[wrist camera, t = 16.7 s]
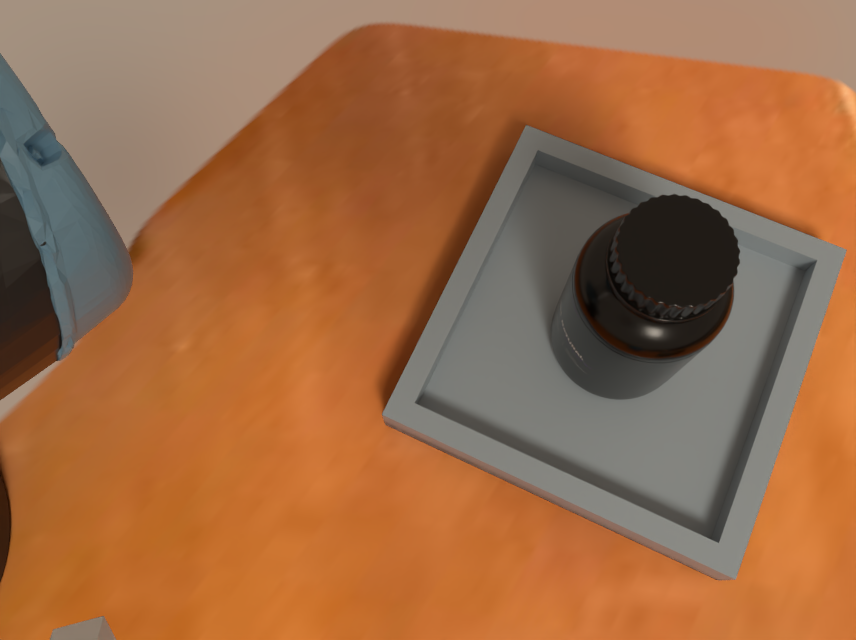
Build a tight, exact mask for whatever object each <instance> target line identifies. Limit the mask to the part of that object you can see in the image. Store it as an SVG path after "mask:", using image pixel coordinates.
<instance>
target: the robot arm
mask: <svg viewBox="0 0 856 640" xmlns="http://www.w3.org/2000/svg"><path fill="white" fill-rule="evenodd" d="M132 280H133V267H132V262H131V258H130V255H129V253H128V251H127V248H126V246H125V244H124V242H123V240H122V238H121V237H120V235H119V233H118V231H117V229H116V228H115V226H114V224H113V222H112V221H111V219H110V217H109V215H108V214H107V212H106V210H105V209H104V207H103V206H102V204H101V202H100V201H99V199H98V198H97V196H96V194H95V193H94V191H93V189H92V188H91V186H90V185H89V183H88V182H87V180H86V179H85V177H84V175H83V174H82V172H81V171H80V169H79V168H78V167H77V165H76V164H75V162H74V161H73V159H72V157H71V156H70V155H69V153H68V152H67V151H66V150H65V148H64V147H63V146H62V145H61V144H60V143H59V142H58V141H57V140H56V137H55V133H54V131H53V130H52V129H51V127H50V126H49V124H48V123H47V122H46V120H45V119H44V117H43V116H42V114H41V112H40V110H39V108H38V107H37V105H36V103H35V102H34V101H33V99H32V98H31V96H30V94H29V93H28V92H27V90H26V89H25V87H24V86H23V84H22V83H21V81H20V80H19V79H18V77H17V76H16V74H15V73H14V72H13V70H12V69H11V67H10V66H9V65H8V63H7V62H6V60H5V59H4V58H3V56H2V55H1V54H0V400H1V399H3V398H4V397H6V396H7V395H8V394H10V393H11V392H13V391H14V390H15V389H17V388H18V387H20V386H21V385H23V384H24V383H25V382H27V381H28V380H30V379H31V378H33V377H34V376H35V375H37V374H38V373H40V372H41V371H43V370H44V369H45V368H47V367H48V366H50V365H51V364H52V363H54V362H55V361H60V360H62V359H63V358H65V357H66V356H68V355H69V354H70V352H71V351H72V349H73V347H74V344H75V343H76V342H77V341H78V340H79V339H81V338H82V337H83V336H84V335H85V334H87V333H88V332H89V331H90V330H92V329H93V328H94V327H95V326H97V325H98V324H99V323H100V322H101V321H103V320H104V319H105V318H106V317H108V316H109V315H110V314H111V313H112V312H114V311H115V310H116V309H117V308H118V307H119V306H120V305H121V304H122V303H123V302H124V301H125V299H126V298H127V296H128V294H129V292H130V289H131V286H132ZM9 534H10V516H9V506H8V501H7V495H6V491H5V487H4V484H3V481H2V478H1V475H0V581H1V578H2V575H3V571H4V567H5V563H6V558H7V553H8V545H9ZM50 640H116V638H115V637H114V635H113V633H112V631H111V629H110V627H109V625H108V623H107V621H106V619H105V618H104V616H102V617H98V618H94V619H90V620H87V621H83V622H79V623H76V624H72V625H68V626H65V627H61V628H57V629H54V630H53V632H52V635H51V638H50Z"/></svg>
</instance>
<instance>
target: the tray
mask: <svg viewBox="0 0 856 640" xmlns="http://www.w3.org/2000/svg"><path fill="white" fill-rule="evenodd" d="M672 194H677V195H679V196H683V195H687V196H689V197H690V198H697V199H699V200H700V201H702V202H703V203H708V204H709V205H710V206H711V207H712V208H713V209H716V210H718V211H719V212H720V213H721V215H722V216H723V217H724V218H726V219H727V220H728V223H729V225H730V226H731V227H732V228H733V229H734V235H735V236H736V238H737V239H738V248H739V249H740V254H739V259H740V264H739V266H738V267H737V270H738V274H737V275H736V277H735V278H734V301H733V306H732V310H731V313H730V316H729V318H728V321H727V322H726V324H725V326H724V328H723V329H722V330H721V332H720V333H719V334H718V336H717V337H716V338H715V339H714V340H713V341H712V342H711V343H710V344H709V345H708V346H707V347H706V348H704V349H703V350H702V351H701V352H700V353H699V354H698V355H696V356H695V357H694V358H693V359H692V360H691V361H690V362H688V363H687V364H686V365H685V366H684V367H683V368H682V369H680V370H679V371H678V372H677V373H676V374H675V375H674V376H672V377H671V378H670V379H669V380H668V381H667V382H665V383H664V384H663V385H662V386H660V387H659V388H657V389H656V390H654V391H652V392H651V393H648V394H646V395H644V396H641V397H638V398H633V399H626V400H615V399H608V398H603V397H599V396H597V395H594V394H592V393H589V392H587V391H586V390H584V389H582V388H581V387H579V386H578V385H577V384H575V383H574V382H573V381H572V380H571V379H570V378H569V377H568V376H567V375H566V374H565V372H564V371H563V370H562V368H561V367H560V365H559V363H558V361H557V359H556V357H555V354H554V352H553V348H552V343H551V323H552V318H553V314H554V312H555V309H556V306H557V303H558V301H559V299H560V296H561V294H562V291H563V289H564V287H565V284H566V282H567V280H568V277H569V275H570V273H571V270H572V268H573V266H574V263H575V261H576V259H577V256H578V254H579V252H580V250H581V249H582V247H583V246H584V244H585V242H586V241H587V240H588V238H589V237H590V236H591V235H592V234H593V233H594V232H595V231H596V230H597V229H598V228H599V227H600V226H602V225H603V224H605V223H606V222H608V221H609V220H611V219H613V218H615V217H618V216H620V215H623V214H626V213H629V212H630V210H631V209H633V208H636V207H637V206H638V205H639V204H640V203H641V202H645V201H648V200H649V199H650V198H651V197H659V196H661V195H668V196H669V195H672ZM845 253H846V249H843V248H841V247H838V246H836V245H833V244H831V243H828V242H826V241H823V240H820V239H818V238H815V237H813V236H810V235H808V234H805V233H802V232H800V231H797V230H795V229H792V228H790V227H787V226H784V225H782V224H779V223H777V222H774V221H772V220H769V219H766V218H764V217H761V216H759V215H756V214H754V213H751V212H749V211H746V210H743V209H741V208H738V207H736V206H733V205H731V204H728V203H725V202H723V201H720V200H718V199H715V198H713V197H710V196H707V195H705V194H702V193H700V192H697V191H695V190H692V189H689V188H687V187H684V186H682V185H679V184H677V183H674V182H672V181H669V180H666V179H664V178H661V177H659V176H656V175H654V174H651V173H648V172H646V171H643V170H641V169H638V168H636V167H633V166H630V165H628V164H625V163H623V162H620V161H618V160H615V159H612V158H610V157H607V156H605V155H602V154H600V153H597V152H595V151H592V150H589V149H587V148H584V147H582V146H579V145H577V144H574V143H571V142H569V141H566V140H564V139H561V138H559V137H556V136H553V135H551V134H548V133H546V132H543V131H541V130H538V129H535V128H533V127H530V126H528V125H526V126H525V128H524V130H523V132H522V134H521V136H520V138H519V140H518V142H517V144H516V147H515V149H514V151H513V153H512V155H511V157H510V159H509V161H508V163H507V165H506V167H505V169H504V171H503V173H502V175H501V177H500V179H499V181H498V183H497V185H496V187H495V189H494V191H493V193H492V195H491V197H490V199H489V201H488V203H487V205H486V207H485V209H484V211H483V213H482V215H481V217H480V219H479V221H478V223H477V225H476V227H475V229H474V231H473V233H472V235H471V237H470V239H469V241H468V243H467V245H466V247H465V249H464V251H463V253H462V255H461V257H460V259H459V261H458V263H457V265H456V267H455V269H454V271H453V273H452V275H451V277H450V279H449V281H448V283H447V285H446V287H445V289H444V291H443V293H442V295H441V297H440V299H439V301H438V303H437V305H436V307H435V309H434V311H433V313H432V315H431V317H430V319H429V321H428V323H427V325H426V327H425V329H424V331H423V333H422V335H421V337H420V339H419V341H418V343H417V345H416V347H415V349H414V351H413V353H412V355H411V357H410V359H409V361H408V363H407V365H406V367H405V369H404V371H403V373H402V375H401V377H400V379H399V381H398V383H397V385H396V387H395V389H394V391H393V393H392V395H391V397H390V399H389V401H388V403H387V405H386V407H385V409H384V411H383V413H382V416H383V419H384V422H385V424H386V425H387V426H389V427H392V428H394V429H396V430H398V431H400V432H402V433H404V434H406V435H409V436H411V437H413V438H415V439H417V440H419V441H421V442H424V443H426V444H428V445H430V446H432V447H434V448H436V449H438V450H441V451H443V452H445V453H447V454H449V455H451V456H453V457H456V458H458V459H460V460H462V461H464V462H466V463H468V464H471V465H473V466H475V467H477V468H479V469H481V470H483V471H485V472H488V473H490V474H492V475H494V476H496V477H498V478H500V479H503V480H505V481H507V482H509V483H511V484H513V485H515V486H518V487H520V488H522V489H524V490H526V491H528V492H530V493H532V494H535V495H537V496H539V497H541V498H543V499H545V500H547V501H550V502H552V503H554V504H556V505H558V506H560V507H562V508H565V509H567V510H569V511H571V512H573V513H575V514H577V515H579V516H582V517H584V518H586V519H588V520H590V521H592V522H594V523H597V524H599V525H601V526H603V527H605V528H607V529H609V530H611V531H614V532H616V533H618V534H620V535H622V536H624V537H626V538H629V539H631V540H633V541H635V542H637V543H639V544H641V545H644V546H646V547H648V548H650V549H652V550H654V551H656V552H658V553H661V554H663V555H665V556H667V557H669V558H671V559H673V560H676V561H678V562H680V563H682V564H684V565H686V566H688V567H691V568H693V569H695V570H697V571H699V572H701V573H703V574H705V575H708V576H710V577H712V578H714V579H716V580H736V577H737V574H738V571H739V568H740V565H741V562H742V559H743V556H744V553H745V550H746V547H747V544H748V541H749V538H750V535H751V532H752V529H753V527H754V524H755V521H756V518H757V515H758V512H759V509H760V506H761V503H762V500H763V497H764V494H765V491H766V488H767V485H768V482H769V479H770V476H771V473H772V470H773V467H774V464H775V461H776V458H777V455H778V452H779V449H780V446H781V443H782V440H783V437H784V434H785V432H786V429H787V426H788V423H789V420H790V417H791V414H792V411H793V408H794V405H795V402H796V399H797V396H798V393H799V390H800V387H801V384H802V381H803V378H804V375H805V372H806V369H807V366H808V363H809V360H810V357H811V354H812V351H813V348H814V345H815V342H816V339H817V336H818V334H819V331H820V328H821V325H822V322H823V319H824V316H825V313H826V310H827V307H828V304H829V301H830V298H831V295H832V292H833V289H834V286H835V283H836V280H837V277H838V274H839V271H840V268H841V265H842V262H843V259H844V256H845Z"/></svg>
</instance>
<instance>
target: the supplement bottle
mask: <svg viewBox="0 0 856 640" xmlns="http://www.w3.org/2000/svg"><path fill="white" fill-rule="evenodd" d="M739 254H740V249H739V248H738V239H737V238H736V236H735V235H734V229H733V228H732V227H731V226H730V225H729V223H728V220H727V219H726V218H724V217H723V216H722V215H721V213H720V212H719V211H718V210H716V209H713V208H712V207H711V206H710V205H709V204H708V203H703V202H702V201H700V200H699V199H697V198H690V197H689V196H687V195H683V196H679V195H677V194H672V195H669V196H668V195H661V196H659V197H651V198H650V199H649V200H648V201H645V202H641V203H640V204H639V205H638V206H637V207H636V208H633V209H631V210H630V212H629V213H626V214H623V215H620V216H618V217H615V218H613V219H611V220H609V221H608V222H606V223H605V224H603V225H602V226H600V227H599V228H598V229H597V230H596V231H595V232H594V233H593V234H592V235H591V236H590V237H589V238H588V240H587V241H586V242H585V244H584V246H583V247H582V249H581V250H580V252H579V254H578V256H577V259H576V261H575V263H574V266H573V268H572V270H571V273H570V275H569V277H568V280H567V282H566V284H565V287H564V289H563V291H562V294H561V296H560V299H559V301H558V303H557V306H556V309H555V312H554V314H553V318H552V323H551V343H552V348H553V352H554V354H555V357H556V359H557V361H558V363H559V365H560V367H561V368H562V370H563V371H564V372H565V374H566V375H567V376H568V377H569V378H570V379H571V380H572V381H573V382H574V383H575V384H577V385H578V386H579V387H581V388H582V389H584V390H586V391H587V392H589V393H592V394H594V395H597V396H599V397H603V398H608V399H615V400H626V399H633V398H638V397H641V396H644V395H646V394H648V393H651V392H652V391H654V390H656V389H657V388H659V387H660V386H662V385H663V384H664V383H665V382H667V381H668V380H669V379H670V378H671V377H672V376H674V375H675V374H676V373H677V372H678V371H679V370H680V369H682V368H683V367H684V366H685V365H686V364H687V363H688V362H690V361H691V360H692V359H693V358H694V357H695V356H696V355H698V354H699V353H700V352H701V351H702V350H703V349H704V348H706V347H707V346H708V345H709V344H710V343H711V342H712V341H713V340H714V339H715V338H716V337H717V336H718V334H719V333H720V332H721V330H722V329H723V328H724V326H725V324H726V322H727V321H728V318H729V316H730V313H731V310H732V306H733V301H734V278H735V277H736V275H737V274H738V270H737V267H738V266H739V264H740V259H739Z"/></svg>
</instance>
